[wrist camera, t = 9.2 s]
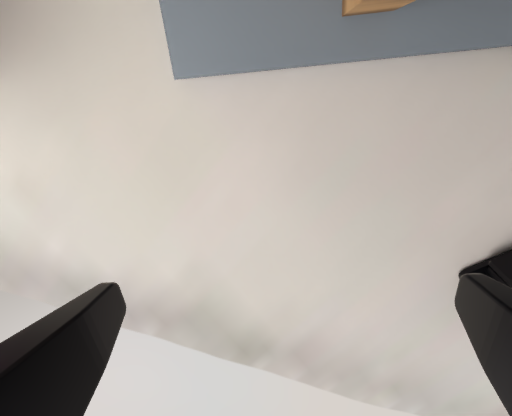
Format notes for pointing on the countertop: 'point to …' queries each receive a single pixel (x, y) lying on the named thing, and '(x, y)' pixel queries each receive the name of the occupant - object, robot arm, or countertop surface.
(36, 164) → the countertop surface
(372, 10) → the crossbar
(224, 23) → the joint board
